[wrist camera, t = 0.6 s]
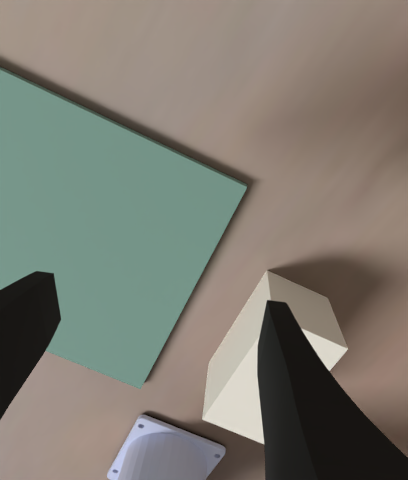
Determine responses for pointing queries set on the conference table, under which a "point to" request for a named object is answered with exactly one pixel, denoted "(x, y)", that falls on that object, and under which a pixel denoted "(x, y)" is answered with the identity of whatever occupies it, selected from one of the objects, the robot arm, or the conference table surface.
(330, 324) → the card box
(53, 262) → the mat
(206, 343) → the conference table surface
